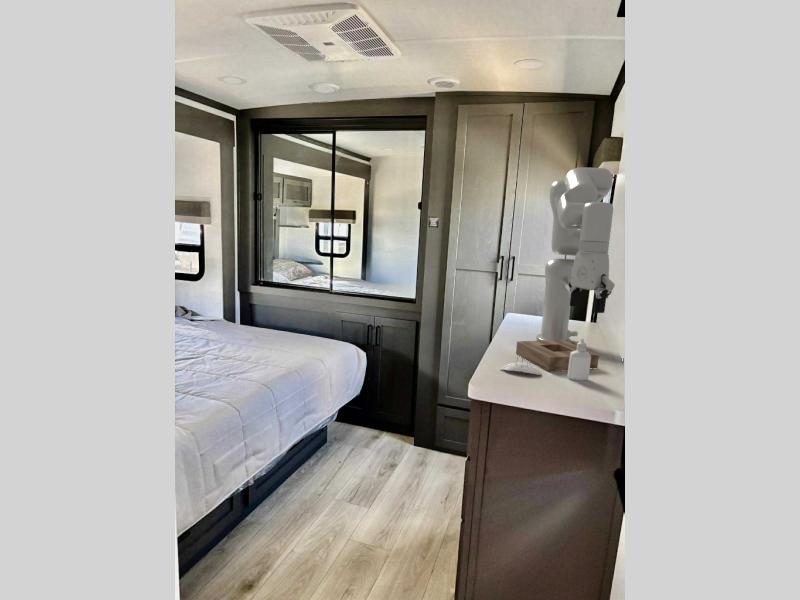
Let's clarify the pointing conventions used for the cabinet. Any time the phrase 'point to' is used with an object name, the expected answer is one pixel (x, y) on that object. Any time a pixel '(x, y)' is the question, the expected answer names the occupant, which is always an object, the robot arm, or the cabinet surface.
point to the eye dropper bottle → (579, 363)
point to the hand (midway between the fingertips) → (586, 309)
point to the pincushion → (522, 368)
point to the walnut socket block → (550, 354)
